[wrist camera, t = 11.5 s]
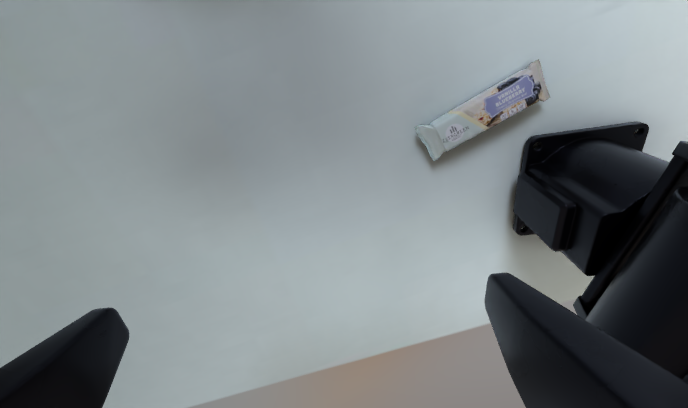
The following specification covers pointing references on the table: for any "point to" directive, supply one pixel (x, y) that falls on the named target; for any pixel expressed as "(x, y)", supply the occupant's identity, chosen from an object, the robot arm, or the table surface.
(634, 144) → the robot arm
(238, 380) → the table surface
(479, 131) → the granola bar
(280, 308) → the table surface
